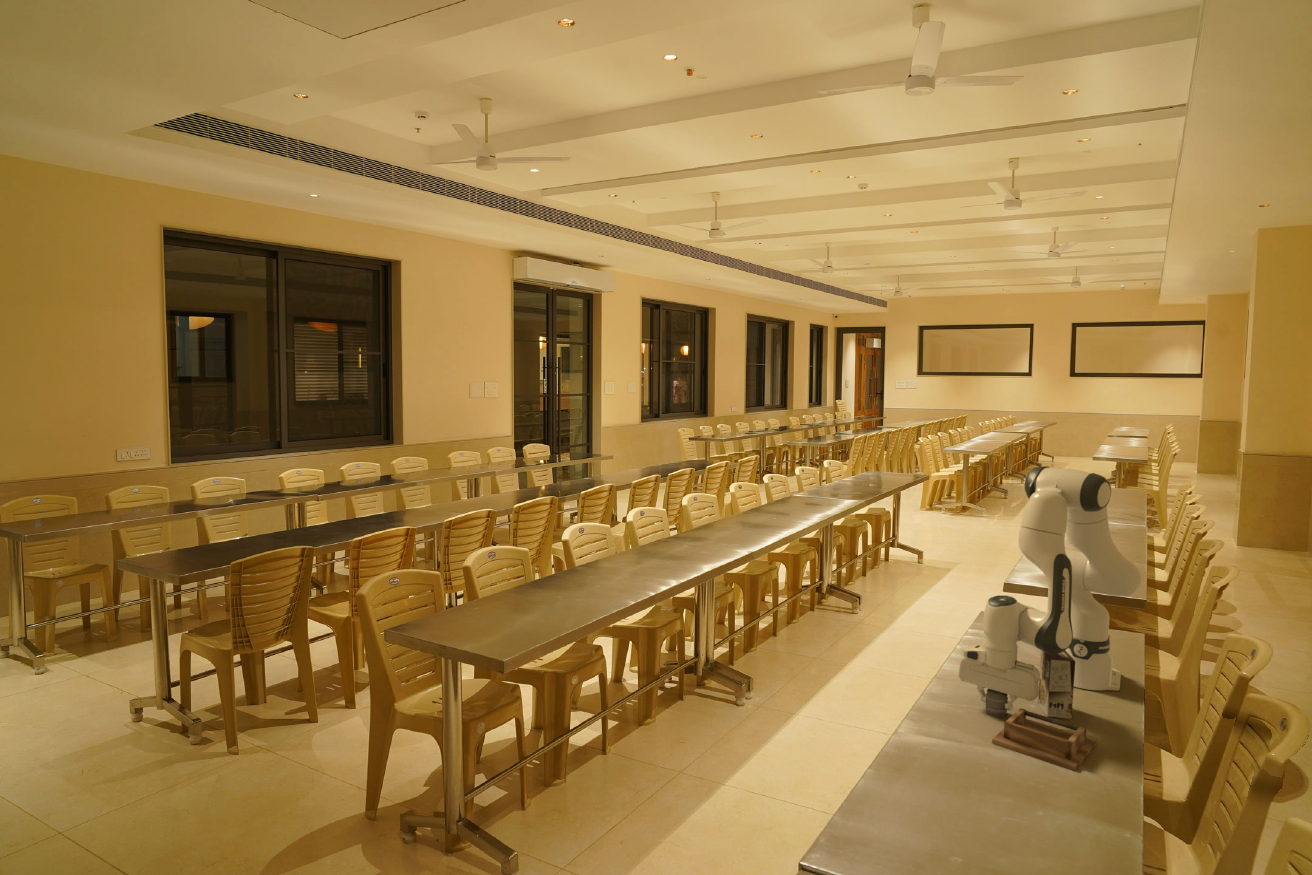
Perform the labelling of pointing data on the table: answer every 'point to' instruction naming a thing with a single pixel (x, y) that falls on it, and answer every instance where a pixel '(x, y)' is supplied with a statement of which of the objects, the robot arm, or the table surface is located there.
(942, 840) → the table surface
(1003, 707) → the stacked grey discs
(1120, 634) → the table surface
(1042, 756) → the brown wooden open box
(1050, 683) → the coffee box
